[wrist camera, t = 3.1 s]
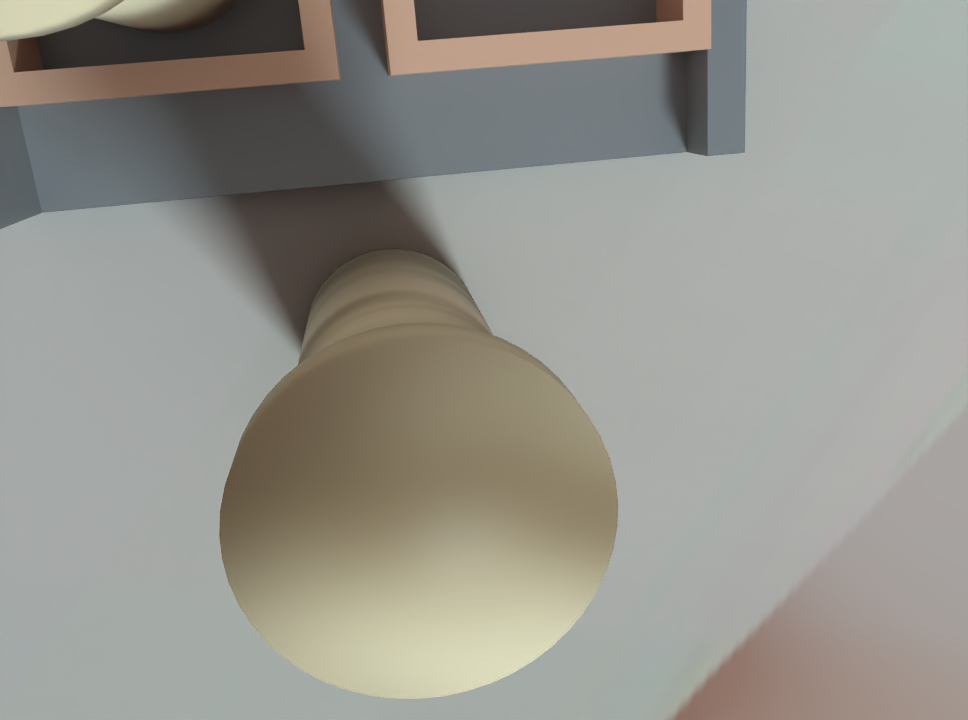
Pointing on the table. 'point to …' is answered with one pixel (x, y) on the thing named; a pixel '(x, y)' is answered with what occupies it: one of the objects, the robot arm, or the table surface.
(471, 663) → the cream pawn-shaped knob
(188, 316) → the table surface
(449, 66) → the housing
